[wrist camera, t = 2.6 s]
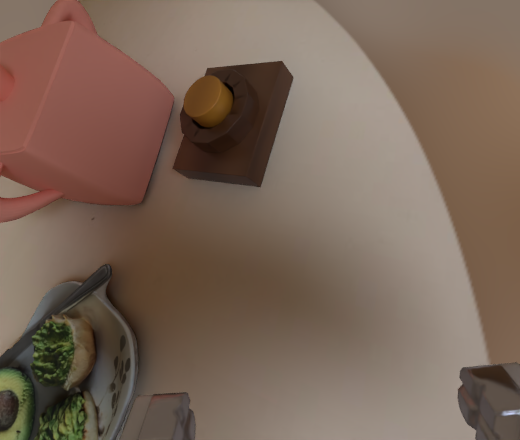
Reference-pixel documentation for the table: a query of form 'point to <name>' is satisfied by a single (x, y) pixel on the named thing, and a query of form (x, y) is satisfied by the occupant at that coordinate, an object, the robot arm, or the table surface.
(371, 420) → the table surface
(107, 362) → the plate of avocado toast
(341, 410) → the table surface
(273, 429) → the table surface
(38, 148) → the teapot
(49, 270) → the table surface
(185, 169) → the button block
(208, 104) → the button
